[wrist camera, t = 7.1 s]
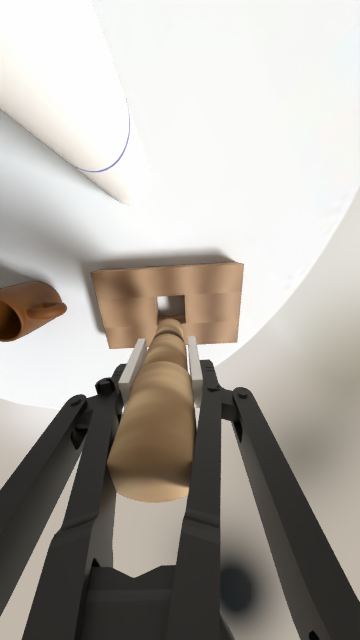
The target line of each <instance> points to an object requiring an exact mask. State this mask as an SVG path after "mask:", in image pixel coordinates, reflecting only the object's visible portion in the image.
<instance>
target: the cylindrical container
mask: <svg viewBox="0 0 360 640" xmlns="http://www.w3.org/2000/svg"><path fill="white" fill-rule="evenodd" d="M0 109H1V110H2V111H3V112H5V113H6V114H7V115H9V116H10V117H11V118H12V119H14V120H15V121H16V122H18V123H19V124H20V125H21V126H23V127H24V128H25V129H27V130H28V131H29V132H30V133H32V134H33V135H34V136H35V137H37V138H38V139H39V140H41V141H42V142H43V143H44V144H46V145H47V146H48V147H50V148H51V149H52V150H53V151H55V152H56V153H57V154H59V155H60V156H61V157H62V158H64V159H65V160H66V161H67V162H69V163H70V164H71V165H73V166H74V167H75V168H76V169H78V170H79V171H80V172H82V173H83V174H84V175H85V176H87V177H88V178H89V179H90V180H92V181H93V182H94V183H96V184H97V185H98V186H99V187H101V188H102V189H103V190H105V191H106V192H107V193H108V194H110V195H111V196H112V197H114V198H115V199H116V200H117V201H119V202H121V203H123V204H127V205H134V204H138V203H139V202H141V201H142V200H144V199H145V197H146V196H147V195H148V193H149V191H150V187H151V182H152V175H151V169H150V166H149V163H148V160H147V157H146V154H145V152H144V149H143V146H142V143H141V140H140V137H139V134H138V131H137V128H136V126H135V123H134V120H133V117H132V114H131V111H130V108H129V105H128V102H127V99H126V97H125V94H124V91H123V88H122V85H121V82H120V79H119V77H118V74H117V71H116V68H115V65H114V62H113V59H112V57H111V54H110V51H109V48H108V45H107V42H106V39H105V37H104V34H103V31H102V28H101V25H100V22H99V20H98V17H97V14H96V11H95V8H94V5H93V2H92V0H0Z"/></svg>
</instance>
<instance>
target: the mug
mask: <svg viewBox="0 0 360 640" xmlns="http://www.w3.org/2000/svg"><path fill="white" fill-rule="evenodd" d="M66 310H67V306H66V305H65V304H64V303H62V300H61V298H60V296H59V294H58V293H57V292H56V290H54V289H53V288H52V287H51V286H49V285H47V284H45V283H42V282H27V283H22V284H17V285H13V286H8V287H4V288H0V341H2V342H9V341H14V340H16V339H19V338H21V337H23V336H25V335H27V334H29V333H31V332H32V331H34V330H36V329H38V328H39V327H41V326H43V325H45V324H46V323H48V322H50V321H51V320H53V319H55V318H56V317H58V316H60V315H62V314H64V313H65V312H66Z"/></svg>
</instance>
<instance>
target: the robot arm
mask: <svg viewBox="0 0 360 640" xmlns="http://www.w3.org/2000/svg"><path fill="white" fill-rule="evenodd" d="M188 348H189V365H190V377H191V379H192V390H193V396H194V407H195V408H200V414H199V421H198V428H197V435H196V442H195V449H194V456H193V463H192V470H191V477H190V484H189V491H188V499H187V506H186V512H185V516H184V518H183V523H182V529H181V535H180V542H179V549H178V556H177V562H176V565H169V566H168V565H167V566H160V567H157V568H155V569H153V570H151V571H149V572H147V573H145V574H142V575H140V576H138V577H136V578H132V577H130V576H128V575H126V574H124V573H122V572H120V571H117V570H115V569H114V568H113V551H112V537H113V526H114V514H115V502H116V489H115V486H114V484H113V481H112V478H111V475H110V473H109V470H108V467H107V464H106V463H107V460H108V457H109V453H110V450H111V447H112V444H113V441H114V439H115V436H116V433H117V430H118V427H119V424H120V421H121V418H122V415H123V414H122V409H123V406H124V409H125V407H126V404H127V401H128V398H129V395H130V392H131V389H132V386H133V383H134V380H135V377H136V375H137V373H138V372H139V371H140V369H142V368H143V365H144V361H145V358H146V355H147V345H146V338H142V339H138V341H137V343H136V345H135V347H134V350H133V352H132V354H131V356H130V358H129V360H128V363H127V364H120V365H119V366H118V367H117V368H116V369H115V371H114V373H113V376H112V377H111V378H110V377H109V378H104V379H101V380H99V381H98V382H97V383H96V385H95V388H96V391H97V394H98V395H96V396H93V397H89V398H86V396H85V395H82V394H80V395H76V396H73V397H72V398H70V399H69V400H68V401H67V402H66V403H65V405H64V406H63V407H62V409H61V410H60V411H59V413H58V414H57V415H56V417H55V418H54V419H53V421H52V422H51V423H50V425H49V426H48V427H47V429H46V430H45V431H44V433H43V434H42V435H41V437H40V438H39V439H38V441H37V442H36V443H35V445H34V446H33V447H32V449H31V450H30V451H29V453H28V454H27V455H26V457H25V458H24V459H23V461H22V462H21V463H20V465H19V466H18V467H17V469H16V470H15V471H14V473H13V474H12V475H11V477H10V478H9V479H8V481H7V482H6V483H5V485H4V486H3V487H2V489H1V490H0V616H1V614H2V612H3V610H4V608H5V607H6V605H7V603H8V601H9V599H10V597H11V595H12V593H13V591H14V589H15V587H16V585H17V582H18V580H19V578H20V576H21V574H22V572H23V570H24V568H25V566H26V564H27V562H28V560H29V558H30V556H31V554H32V552H33V550H34V548H35V546H36V544H37V542H38V540H39V538H40V535H41V534H42V532H43V529H44V528H45V525H46V523H47V521H48V519H49V517H50V515H51V513H52V511H53V509H54V507H55V505H56V503H57V501H58V499H59V497H60V495H61V493H62V491H63V489H64V487H65V485H66V483H67V481H68V479H69V477H70V474H71V473H72V471H73V469H74V466H75V464H76V462H77V460H78V458H79V456H80V454H81V452H82V454H81V458H80V461H79V465H78V469H77V473H76V476H75V480H74V484H73V487H72V491H71V495H70V498H69V502H68V506H67V510H66V513H65V517H64V521H63V524H62V527H61V528H60V530H59V531H58V532H57V533H56V534H55V535H54V537H53V539H52V541H51V543H50V546H49V549H48V552H47V556H46V559H45V563H44V566H43V569H42V573H41V576H40V580H39V583H38V587H37V590H36V593H35V597H34V600H33V603H32V607H31V610H30V613H29V617H28V621H27V624H26V627H25V630H24V634H23V637H22V640H234V637H233V635H232V633H231V631H230V629H229V627H228V625H227V623H226V621H225V618H224V617H223V614H222V612H221V610H220V481H221V477H220V476H221V419H225V420H229V421H231V423H232V426H233V430H234V433H235V436H236V439H237V443H238V446H239V449H240V452H241V456H242V459H243V462H244V465H245V469H246V472H247V475H248V478H249V482H250V485H251V488H252V491H253V495H254V498H255V501H256V504H257V507H258V511H259V514H260V517H261V521H262V524H263V527H264V530H265V534H266V537H267V540H268V543H269V547H270V549H271V553H272V556H273V560H274V563H275V566H276V569H277V572H278V576H279V579H280V582H281V586H282V589H283V592H284V595H285V598H286V601H287V604H288V607H289V610H290V613H291V616H292V619H293V622H294V624H295V626H296V629H297V631H298V634H299V637H300V639H301V640H360V602H359V600H358V599H357V597H356V595H355V593H354V591H353V589H352V587H351V585H350V583H349V581H348V579H347V577H346V575H345V573H344V572H343V570H342V568H341V566H340V564H339V562H338V560H337V558H336V556H335V554H334V552H333V550H332V548H331V546H330V544H329V542H328V541H327V538H326V536H325V534H324V533H323V531H322V529H321V527H320V525H319V523H318V521H317V519H316V517H315V515H314V513H313V511H312V509H311V507H310V505H309V503H308V501H307V499H306V497H305V496H304V494H303V492H302V490H301V488H300V486H299V484H298V482H297V480H296V478H295V476H294V474H293V472H292V470H291V468H290V466H289V464H288V463H287V461H286V459H285V457H284V455H283V453H282V451H281V449H280V447H279V445H278V443H277V441H276V439H275V437H274V435H273V433H272V431H271V429H270V427H269V425H268V423H267V421H266V420H265V418H264V416H263V414H262V412H261V410H260V408H259V406H258V404H257V402H256V400H255V398H254V396H253V394H252V393H251V392H250V391H249V390H248V389H246V388H243V387H238V388H235V389H234V390H233V391H230V390H226V389H224V388H222V387H221V386H220V385H219V383H218V380H217V377H216V373H215V370H214V366H213V363H212V362H211V361H210V360H199V355H198V349H197V344H196V338H195V336H188Z"/></svg>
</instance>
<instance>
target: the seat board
mask: <svg viewBox="0 0 360 640" xmlns="http://www.w3.org/2000/svg"><path fill="white" fill-rule="evenodd" d="M243 269H244V264H242V263H238V262H228V263H210V264H192V265H175V266H157V267H140V268H122V269H104V270H98V271H95V272H91V277H92V281H93V285H94V289H95V293H96V297H97V301H98V305H99V309H100V313H101V317H102V321H103V325H104V329H105V333H106V337H107V341H108V345H109V349H119V348H134V347H135V345H136V343H137V341H138V339H142V338H146V345H147V347H149V345H150V343H151V341H152V340H153V338H154V336H155V335H156V331H157V328H158V325H159V323H160V322H161V321H163V320H165V319H169V318H171V319H175V320H177V321H178V322H180V324H181V325H182V328H183V340H184V343H185V345H188V336H195V338H196V344H216V343H235V342H237V338H238V327H239V315H240V304H241V292H242V281H243ZM175 295H184V302H185V315H184V316H165V317H159V312H158V303H157V296H175Z"/></svg>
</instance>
